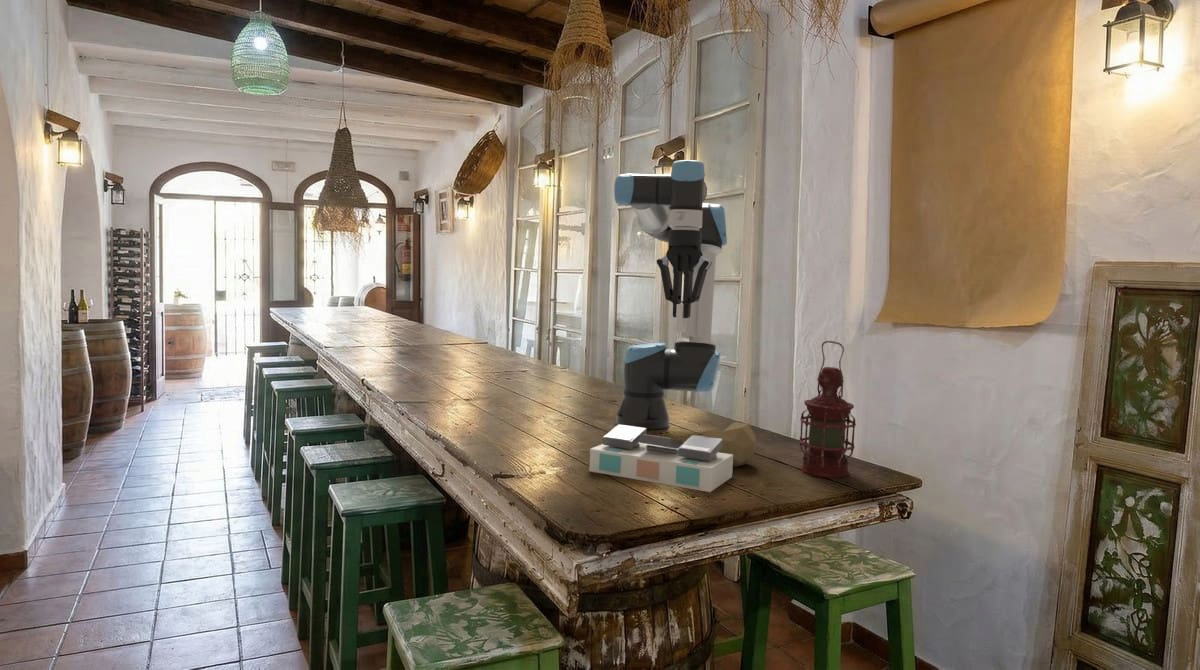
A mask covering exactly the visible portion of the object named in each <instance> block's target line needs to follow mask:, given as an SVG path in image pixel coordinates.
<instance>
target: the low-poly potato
mask: <svg viewBox="0 0 1200 670" xmlns="http://www.w3.org/2000/svg"><path fill="white" fill-rule="evenodd" d="M702 436H704V437H711V438H718V439H723V447H722V448H721V449H720V451H719V453H726V454H732V455H733V466H734V467H733V468H735V467H736V468H737V467H742V466H744V465H745V464H747V462H749V460H750V459H751V458H752V457H753V456H754V453H755V450H756V448H757V435H756V434H755V432H754V431H753V429H752V427H751V425H750V424H749V423H744V422H737V421H733V423H731V424H730V425H729V426H727V427H726V428H725V429H724V430H722V431H715V430H713V431H710V430H709V431H706V432H705V433H704V434H703V435H702Z"/></svg>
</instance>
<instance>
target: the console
mask: <svg viewBox="0 0 1200 670" xmlns="http://www.w3.org/2000/svg"><path fill="white" fill-rule="evenodd" d="M733 468H734V467H733V455H732V454H726V453H719V452H718V453H717V454H716V455H715V456H714V457H713V458H712V459H711V460H710V461H707V460H700V459H694V458H687V457H681V456H679V453H678V448H672V447H665V446H658V445H652V444H645V443H640V442H639V443H638V444H637V445H636V446H635V447H634V448H633V449H627V448H621V447H614V446H608V445H603V443H602V444H598V445H597V446H594V447H591V448H589V469H588V470H589V471H588V472H590V473H591V472H592V473H597V474H598V473H599V474H603V475H604V474H605V475H610V476H615V477H621V478H626V479H627V478H628V479H632V480H638V481H644V482H649V483H656V484H662V485H666V486H667V485H668V486H672V487H673V486H674V487H678V488H683V489H689V490H696V491H701V492H702V491H703V492H706V493H711V492H713V491H714V490H715V489H717V488H718V487H720V486H721V485H723V484H724V483H725V482H727V481H728V480H730V479H731V478H732V477H733Z"/></svg>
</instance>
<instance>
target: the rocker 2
mask: <svg viewBox="0 0 1200 670" xmlns="http://www.w3.org/2000/svg"><path fill="white" fill-rule="evenodd" d="M722 447H723V439H718V438H711V437H704V436H703V435H698V434H697V435H695V434H691V435H690V436H689V437H688V438H687V439H686V441H684V443H683V444H682V445H681V446H680V447H679V448H678V453H679V456H681V457H687V458H694V459H700V460H707V461H710V460H711V459H712V458H713V457H714V456H715V455H716V454H717V453H718V452H719V451H720V449H721V448H722Z"/></svg>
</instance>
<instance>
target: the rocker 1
mask: <svg viewBox="0 0 1200 670" xmlns="http://www.w3.org/2000/svg"><path fill="white" fill-rule="evenodd" d="M647 430H648V429H647V428H642V427H635V426H627V425H620V424H619V425H618V424H616V426H615V427H613V428H612V429H611V430H610V431H609V432H607V433H606V434H605V435H603V437H602V444H603V445H608V446H614V447H621V448H627V449H633V448H634V447H635V446H636V445H637V444H638V443H639V442H640V437H641V434H642V435H643V434H646V435H648V432H647Z"/></svg>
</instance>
